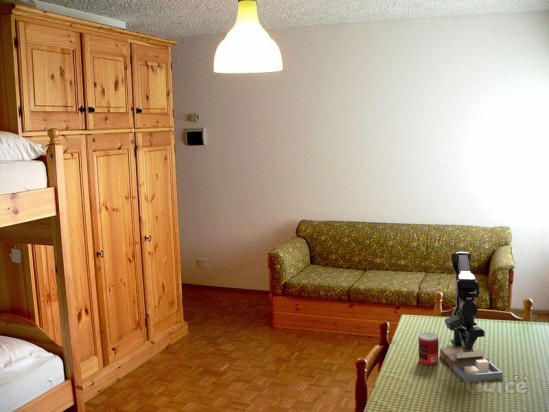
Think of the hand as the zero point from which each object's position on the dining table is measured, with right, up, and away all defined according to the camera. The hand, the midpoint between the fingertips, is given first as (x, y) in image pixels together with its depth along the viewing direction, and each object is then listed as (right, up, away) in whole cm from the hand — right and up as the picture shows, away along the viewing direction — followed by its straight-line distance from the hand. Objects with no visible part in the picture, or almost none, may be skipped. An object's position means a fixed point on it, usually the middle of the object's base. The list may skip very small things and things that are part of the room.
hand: (466, 347), depth 231 cm
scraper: (0, -3, -3) cm, 4 cm away
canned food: (-14, -7, +5) cm, 17 cm away
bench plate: (0, -7, +4) cm, 8 cm away
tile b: (+4, -5, -5) cm, 8 cm away
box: (+1, -8, -8) cm, 11 cm away
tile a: (-1, -6, -9) cm, 11 cm away
